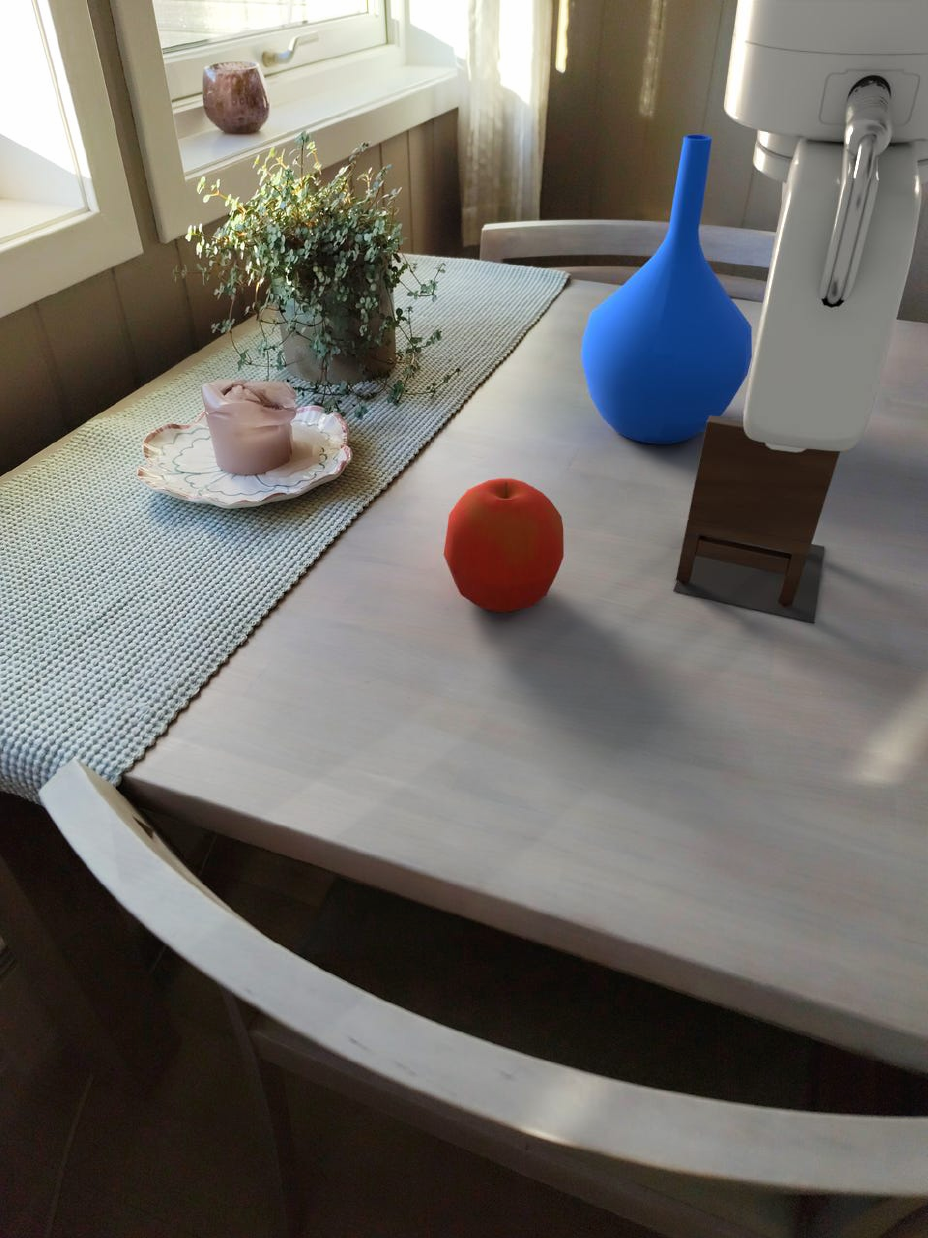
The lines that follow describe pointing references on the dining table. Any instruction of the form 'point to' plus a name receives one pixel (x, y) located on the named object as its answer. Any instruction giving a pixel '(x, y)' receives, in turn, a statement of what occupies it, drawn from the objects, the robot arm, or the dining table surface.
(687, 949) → the dining table surface
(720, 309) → the vase
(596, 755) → the dining table surface
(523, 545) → the apple
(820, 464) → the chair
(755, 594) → the pad
